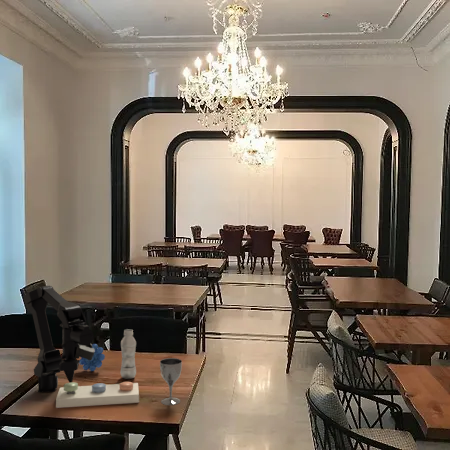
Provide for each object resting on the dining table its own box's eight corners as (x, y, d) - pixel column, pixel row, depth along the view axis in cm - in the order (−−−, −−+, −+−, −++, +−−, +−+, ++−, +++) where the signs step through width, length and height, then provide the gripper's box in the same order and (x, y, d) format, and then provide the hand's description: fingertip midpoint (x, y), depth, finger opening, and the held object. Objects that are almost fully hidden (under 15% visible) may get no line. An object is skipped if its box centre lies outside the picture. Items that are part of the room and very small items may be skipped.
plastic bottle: (121, 381, 208) (121, 332, 207) (119, 375, 214) (120, 328, 213) (136, 380, 209) (137, 332, 208) (135, 374, 216) (135, 328, 215)
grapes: (108, 368, 223) (108, 341, 222) (102, 373, 216) (102, 346, 216) (83, 367, 225) (83, 340, 224) (76, 372, 218) (76, 344, 217)
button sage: (63, 399, 184) (63, 387, 184) (64, 394, 189) (64, 382, 189) (77, 398, 185) (77, 386, 185) (78, 393, 190) (78, 382, 190)
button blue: (91, 400, 186) (91, 388, 186) (92, 395, 191) (92, 383, 191) (105, 399, 187) (105, 387, 187) (106, 394, 192) (106, 382, 192)
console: (56, 407, 180) (56, 399, 180) (60, 395, 192) (60, 387, 192) (138, 402, 186) (138, 394, 186) (137, 390, 198) (137, 382, 198)
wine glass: (182, 397, 191) (182, 357, 191) (180, 405, 183) (181, 364, 183) (160, 397, 191) (161, 357, 190) (158, 405, 183) (159, 364, 182)
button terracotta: (119, 398, 188) (119, 386, 188) (119, 393, 193) (119, 382, 193) (133, 397, 189) (133, 386, 189) (132, 392, 194) (132, 381, 194)
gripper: (91, 346, 178) (91, 390, 179) (94, 332, 197) (94, 372, 197) (58, 347, 176) (58, 391, 177) (64, 333, 195) (64, 374, 195)
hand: (70, 382), depth 187 cm, fingers closed
